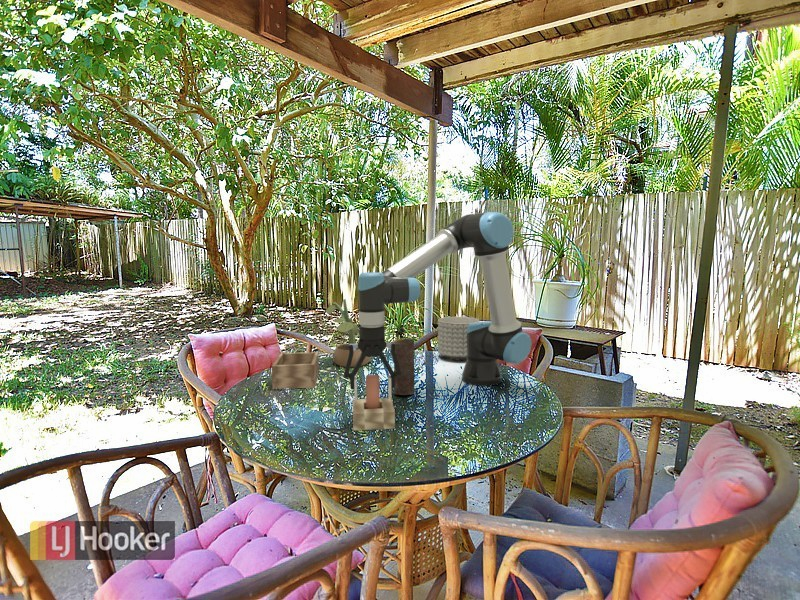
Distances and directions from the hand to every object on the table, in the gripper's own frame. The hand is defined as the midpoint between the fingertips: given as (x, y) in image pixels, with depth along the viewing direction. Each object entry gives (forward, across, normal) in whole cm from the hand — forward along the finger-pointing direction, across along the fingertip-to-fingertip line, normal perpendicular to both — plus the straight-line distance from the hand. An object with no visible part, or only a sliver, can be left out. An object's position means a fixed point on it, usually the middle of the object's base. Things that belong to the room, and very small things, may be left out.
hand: (372, 398), depth 134 cm
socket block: (+7, 0, 0) cm, 7 cm away
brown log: (+7, -12, -23) cm, 27 cm away
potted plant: (+7, +8, -66) cm, 67 cm away
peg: (+7, 0, 0) cm, 7 cm away
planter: (+7, -43, -71) cm, 83 cm away
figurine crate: (+7, +28, -44) cm, 53 cm away
